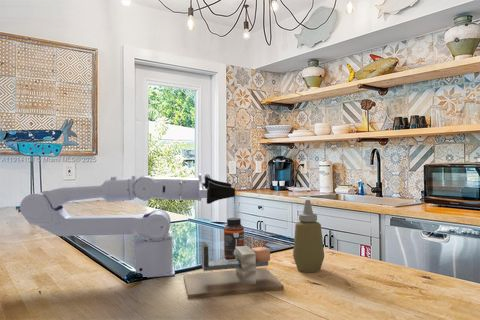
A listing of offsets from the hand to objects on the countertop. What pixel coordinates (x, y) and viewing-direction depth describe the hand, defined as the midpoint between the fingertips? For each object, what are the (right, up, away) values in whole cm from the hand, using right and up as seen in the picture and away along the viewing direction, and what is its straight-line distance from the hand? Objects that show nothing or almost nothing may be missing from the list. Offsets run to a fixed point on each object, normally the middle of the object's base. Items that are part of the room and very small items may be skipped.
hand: (232, 190), depth 99 cm
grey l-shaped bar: (+1, -17, -12) cm, 21 cm away
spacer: (+7, -16, -11) cm, 20 cm away
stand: (0, -21, -12) cm, 24 cm away
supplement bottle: (0, -21, +12) cm, 24 cm away
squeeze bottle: (+20, -21, -3) cm, 29 cm away
